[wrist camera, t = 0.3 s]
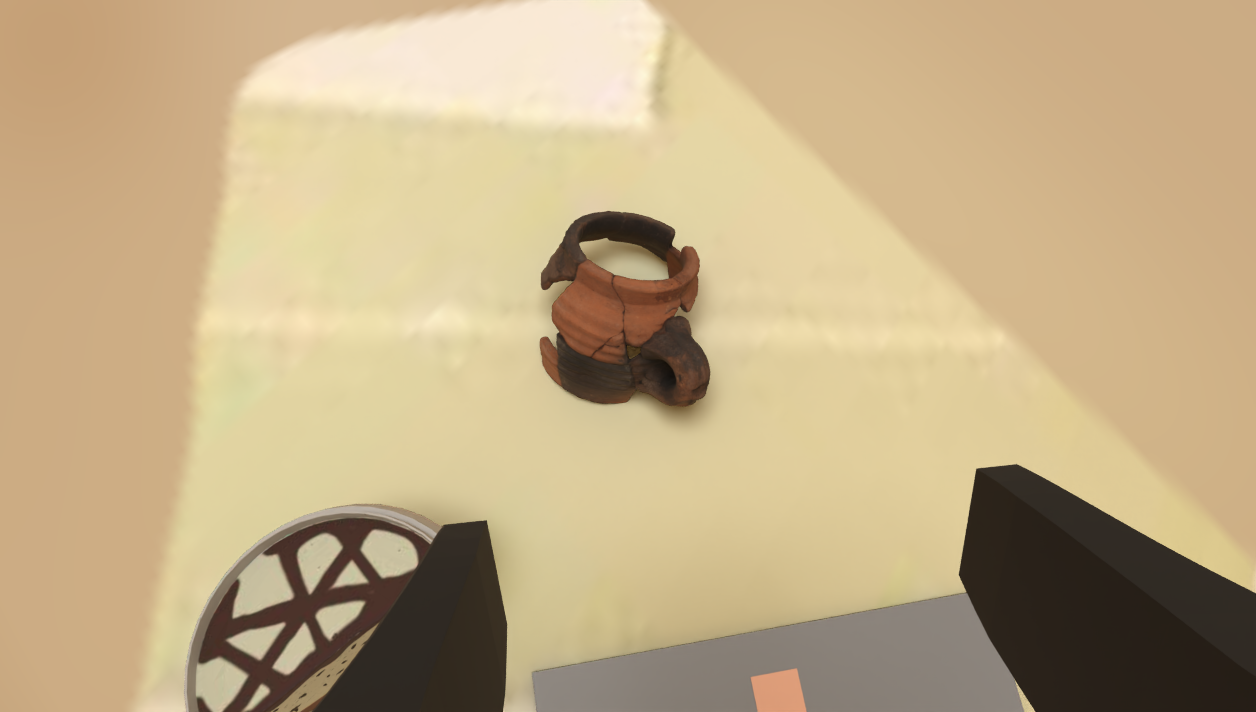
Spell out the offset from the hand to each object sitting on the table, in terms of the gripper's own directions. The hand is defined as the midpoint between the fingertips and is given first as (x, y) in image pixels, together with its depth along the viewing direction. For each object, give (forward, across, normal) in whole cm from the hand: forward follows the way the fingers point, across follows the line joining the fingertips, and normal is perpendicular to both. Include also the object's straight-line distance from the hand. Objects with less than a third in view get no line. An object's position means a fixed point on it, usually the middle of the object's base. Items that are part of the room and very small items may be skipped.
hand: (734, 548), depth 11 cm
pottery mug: (+32, 0, +12) cm, 34 cm away
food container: (+22, +15, +21) cm, 34 cm away
